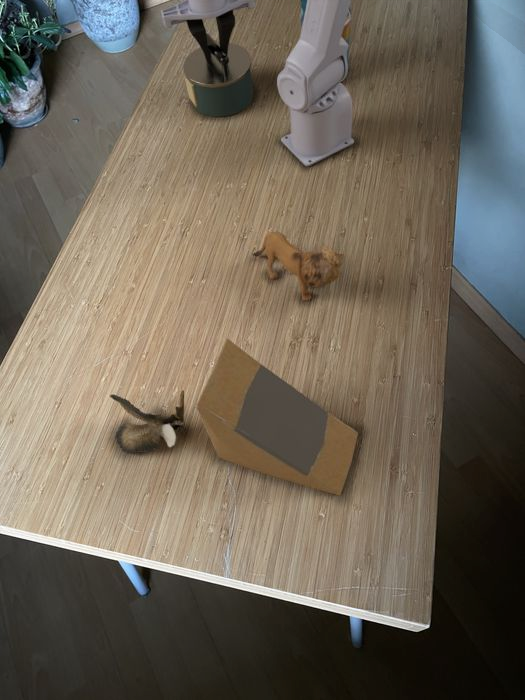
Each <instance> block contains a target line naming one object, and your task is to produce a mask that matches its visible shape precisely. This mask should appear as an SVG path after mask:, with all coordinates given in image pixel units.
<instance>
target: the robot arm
mask: <svg viewBox="0 0 525 700" xmlns="http://www.w3.org/2000/svg"><path fill="white" fill-rule="evenodd" d="M351 3H352V0H307V5H306V10H305V15H304V20H303V26H302V31H301V30H300V37H299V39H298V41H297V43H296V44H295V46H294V47H293V49H292V50H291V51H290V53H289V55H288V57H286V60H285V65H284V68H283V69H282V70H281V71H280V72H279V74H278V76H277V77H276V78H277V79H276V86H277V91H278V94H279V96H280V98H281V100H282V101H283V103H284V104H286V105H287V107H288V108H289V122H290V133H289V134H286V135H284V136H282V137H281V138H280V141H281V143H282V144H283V145H284V146H285V147H286V148H287V149H288V150H289V151H290V152H291V153H292V154H293V156H295V157H296V158H297V159H298V161H300V162H301V163H302V165H303V166H305V167H310V166H312V165H314V164H316V163H318V162H320V161H322V160H324V159H326V158H328V157H330V156H332V155H334V154H336V153H338V152H340V151H342V150H344V149H346V148H347V147H349V146H352V145H353V144H354V143H355V139H353V137H352V131H353V113H354V110H353V109H354V106H353V105H354V104H353V101H352V97H351V95H350V92H349V90H348V88H347V87H346V86H345V85H344V84H343V83H342V82H340V81H341V80H343V79H344V78H345V79H346V77H347V76H346V74H347V75H348V73H347V70H348V71H349V63H348V64H347V50H348V47H349V48H350V45H349V46H348V44H347V43H346V41H345V40H344V39H343V38H342V37H341V36H342V32H343V29H344V25H345V21H346V17H347V14H348V10H349V7H350V6H351ZM245 8H248V10H252V9H255V8H256V3H255V0H184V1H181V2H179V3H177V4H175V5H172V6H171V7H168V8H165V9H161V10H160V13H161V18H162V22H163V25H164V28H165V30H168V29H171V28H173V25H174V26H175V25H178V24H183V23H186V24H187V28H188V30H189V33H190V34H191V35H192V37H193V38H194V39H195V41H196V42H197V44H198V45H199V48H200V47H201V49H202V50H203V52H204V55H205V59H206V61H207V64H210V63H211V57H210V53H209V49H208V44H207V36H206V33H207V30H206V27H205V24H204V20H210V19H215V21H216V27H217V32H218V43H220V48H221V49H222V50H223V52H224V53H225V54H226V55H227V56H228V46H229V43H230V40H231V36H232V33H233V31H234V28H235V26H236V16H235V13H234V11H237V10H241V9H245ZM345 76H346V77H345ZM345 79H344V80H345ZM344 80H343V81H344Z"/></svg>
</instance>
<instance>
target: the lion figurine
mask: <svg viewBox="0 0 525 700" xmlns="http://www.w3.org/2000/svg"><path fill="white" fill-rule="evenodd" d="M262 243H263V244H262V246H261V248H260V250H258V251H255V252H253V253H252V254H251V255H252V256H253V257H257V258H258V257H260V256H261V255H263V253H264V252H265V253H266V256H267V268H268V276H269V278H270V280H276V279H277V278H278V273H277V271H276V270H275V268H274V263H275V261H276V260H277V259H278V260H279V261H280V263H281V264H282V266H283V267H284V268H285V269H286V271H287V272H289V273H290V274H291V275H294V276H296V277H297V280H298V283H299V286H300V291H301V298H302V301H304V302H309V301H310V300H311V299H312V295H311V294H310V291H309V288H312V287H314V288H322V286H324V285H326V284H329V283H332V282H334V281H336V280H337V279H338V278H339V277H340V275H341V271H340V270H341V269H340V268H341V266H342V265H343V264H344V262H345V254H344V253H341V252H340V253H337V252H336V251H334V250H333V249H331V248H329V247H328V246H322V248H321V249H319V250H317V251H313V250H310V251H307V252H306V253H305V252H304V251H302V250H301V249H299V248H298V247H296V246H294V245H293V244H292V243H290V242H289V240H288V239H287V237H286V235H285V234H284V233H282V232H281V231H274V232H270V231H269V232H268V233H267V234H265V236H264V240H263V242H262ZM276 258H277V259H276Z"/></svg>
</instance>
